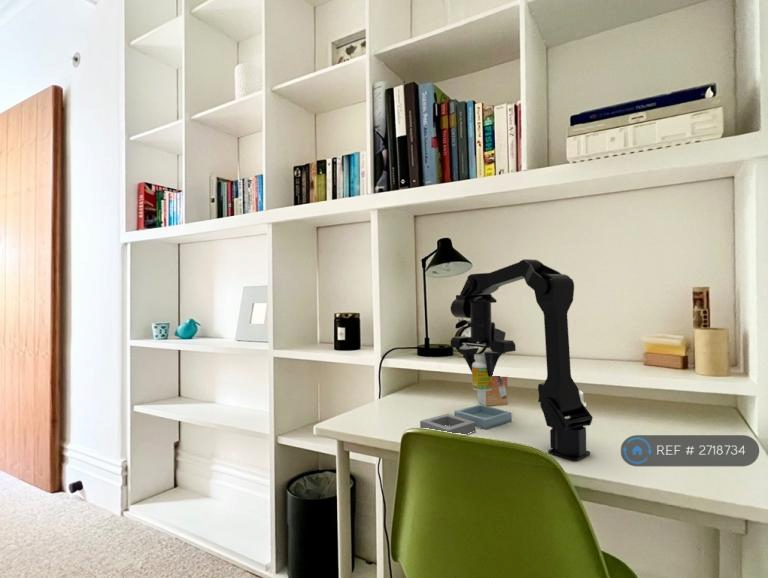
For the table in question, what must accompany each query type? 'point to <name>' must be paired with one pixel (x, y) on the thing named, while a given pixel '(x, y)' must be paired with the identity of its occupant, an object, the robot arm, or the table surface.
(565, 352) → the robot arm
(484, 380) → the supplement bottle
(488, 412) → the tray
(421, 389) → the table surface
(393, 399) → the table surface
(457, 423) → the holder
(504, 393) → the small box
